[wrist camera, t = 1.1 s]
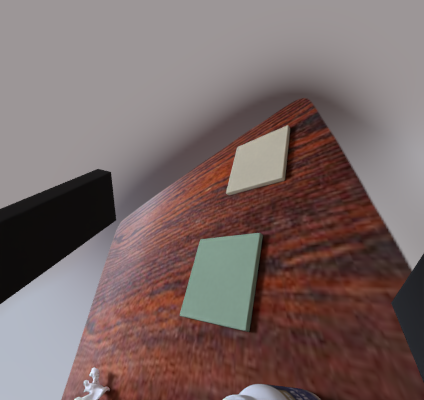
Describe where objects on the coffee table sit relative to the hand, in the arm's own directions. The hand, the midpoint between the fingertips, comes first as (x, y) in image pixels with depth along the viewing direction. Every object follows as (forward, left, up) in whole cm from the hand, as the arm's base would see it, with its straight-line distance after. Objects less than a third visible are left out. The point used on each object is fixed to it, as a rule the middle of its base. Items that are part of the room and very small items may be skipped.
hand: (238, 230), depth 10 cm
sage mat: (+18, -3, -18) cm, 25 cm away
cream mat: (+15, -23, -18) cm, 33 cm away
